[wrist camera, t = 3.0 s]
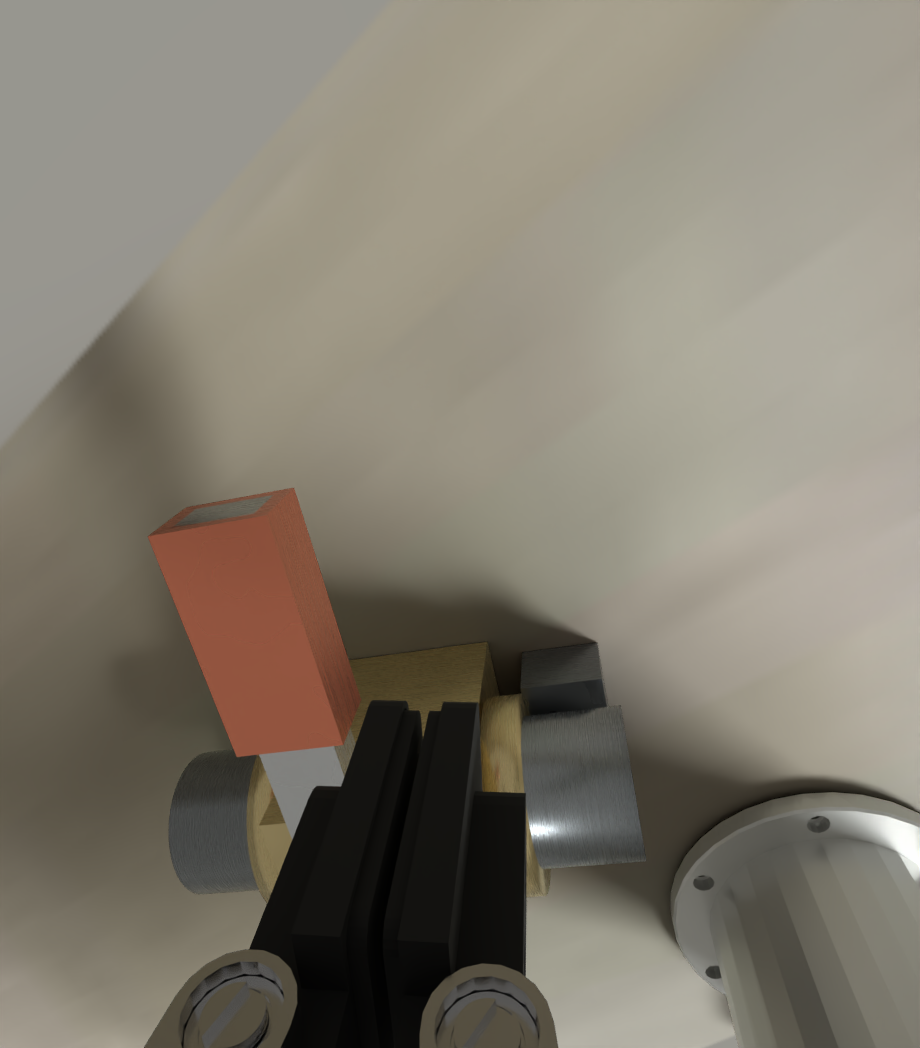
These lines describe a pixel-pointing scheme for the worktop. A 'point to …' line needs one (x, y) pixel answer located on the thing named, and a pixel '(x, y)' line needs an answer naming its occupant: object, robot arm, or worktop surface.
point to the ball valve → (506, 758)
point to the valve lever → (264, 638)
